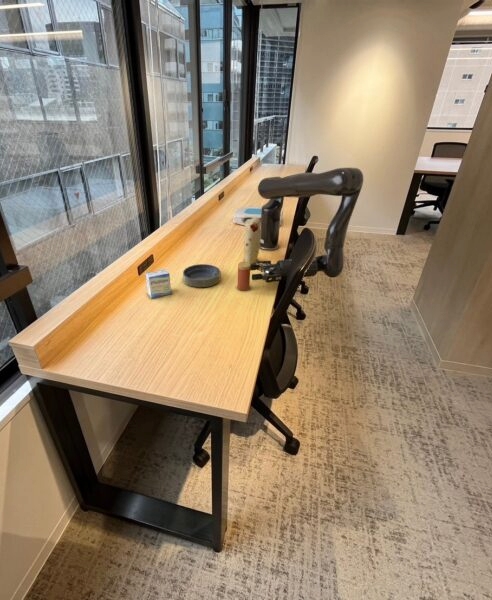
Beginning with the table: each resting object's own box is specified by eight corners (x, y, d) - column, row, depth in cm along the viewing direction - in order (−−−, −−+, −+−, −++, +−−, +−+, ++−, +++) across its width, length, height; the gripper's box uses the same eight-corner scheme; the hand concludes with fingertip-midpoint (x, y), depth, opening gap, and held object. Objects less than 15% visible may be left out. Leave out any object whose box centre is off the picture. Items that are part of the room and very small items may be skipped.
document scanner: (280, 228, 190) (281, 217, 187) (232, 225, 195) (233, 214, 192) (282, 217, 208) (283, 207, 205) (239, 215, 213) (239, 205, 210)
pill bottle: (236, 285, 128) (236, 262, 123) (247, 284, 129) (248, 261, 124) (238, 291, 125) (239, 267, 119) (250, 290, 125) (251, 266, 120)
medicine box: (151, 299, 120) (148, 277, 115) (147, 293, 123) (144, 272, 119) (171, 294, 123) (169, 273, 118) (167, 289, 126) (165, 268, 122)
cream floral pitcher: (254, 267, 144) (257, 222, 134) (240, 264, 146) (241, 220, 136) (261, 258, 151) (263, 215, 141) (247, 256, 154) (249, 214, 143)
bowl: (182, 273, 138) (181, 265, 137) (217, 270, 141) (217, 263, 139) (184, 289, 126) (184, 281, 124) (223, 286, 128) (223, 278, 126)
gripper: (284, 253, 130) (245, 256, 128) (298, 267, 118) (254, 271, 116) (283, 270, 134) (244, 273, 132) (295, 286, 122) (253, 290, 120)
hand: (249, 272), depth 124 cm, fingers open, 8 cm apart
